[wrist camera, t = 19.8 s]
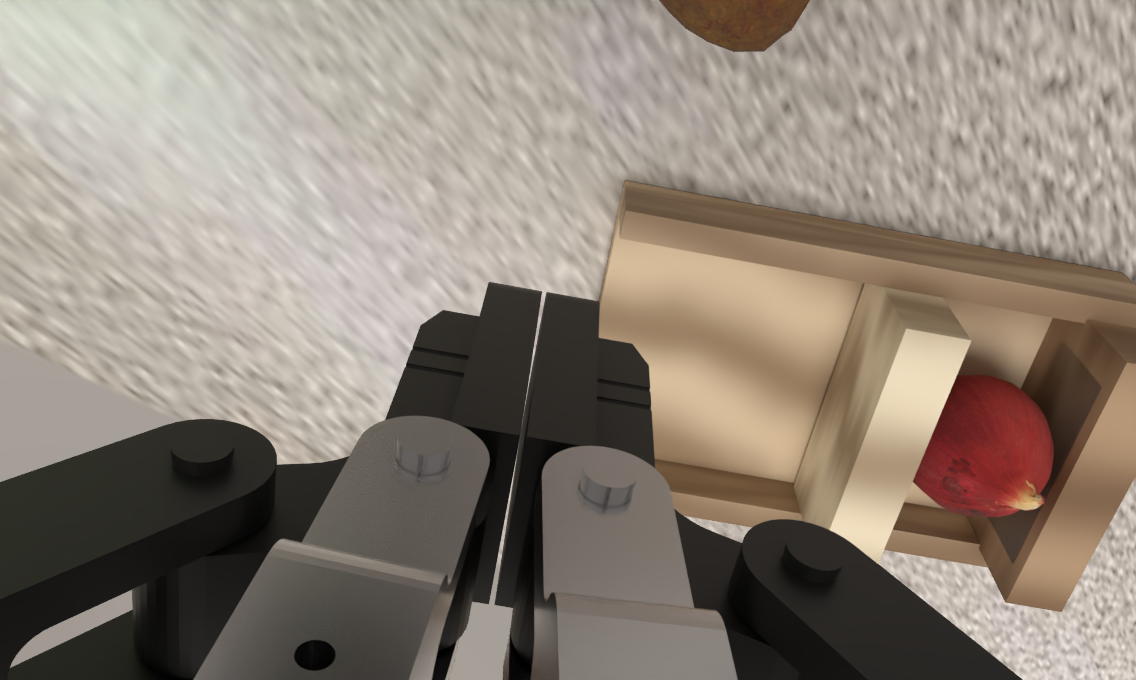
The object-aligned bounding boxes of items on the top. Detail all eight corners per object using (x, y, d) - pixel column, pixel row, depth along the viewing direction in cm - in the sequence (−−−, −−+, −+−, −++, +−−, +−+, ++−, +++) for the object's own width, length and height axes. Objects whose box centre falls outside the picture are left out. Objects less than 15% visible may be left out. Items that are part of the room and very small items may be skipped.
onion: (923, 469, 47) (1010, 589, 40) (847, 407, 45) (925, 523, 38) (1022, 386, 46) (1129, 496, 39) (948, 316, 43) (1048, 420, 36)
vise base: (624, 180, 43) (626, 245, 36) (1123, 273, 44) (1210, 352, 37) (566, 450, 49) (559, 546, 43) (1001, 525, 50) (1057, 629, 44)
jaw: (870, 265, 42) (906, 328, 37) (928, 276, 42) (971, 340, 37) (793, 486, 48) (815, 567, 43) (844, 495, 48) (872, 577, 43)
